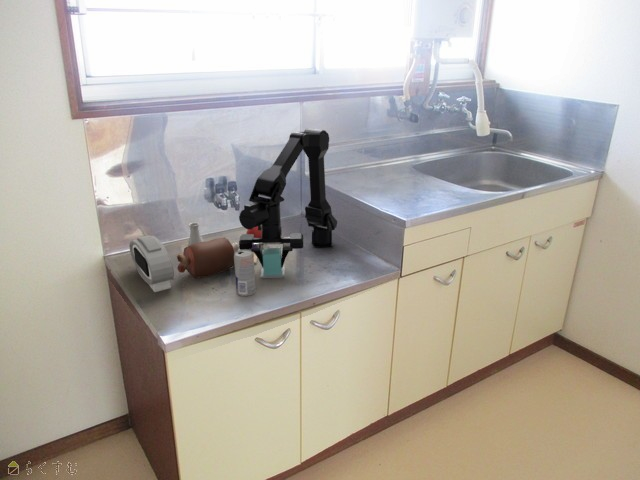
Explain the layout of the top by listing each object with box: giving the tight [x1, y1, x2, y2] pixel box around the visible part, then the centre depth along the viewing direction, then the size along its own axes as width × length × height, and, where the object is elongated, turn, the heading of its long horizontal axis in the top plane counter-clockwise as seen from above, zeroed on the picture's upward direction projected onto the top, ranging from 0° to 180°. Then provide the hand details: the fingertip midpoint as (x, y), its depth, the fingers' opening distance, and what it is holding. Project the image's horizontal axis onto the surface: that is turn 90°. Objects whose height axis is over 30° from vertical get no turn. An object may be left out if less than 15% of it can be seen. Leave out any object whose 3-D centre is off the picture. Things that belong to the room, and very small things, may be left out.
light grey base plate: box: [260, 265, 286, 279], centre depth 157 cm, size 7×7×6 cm
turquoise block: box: [262, 247, 282, 275], centre depth 157 cm, size 5×5×7 cm
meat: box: [176, 237, 240, 279], centre depth 157 cm, size 20×12×10 cm, turn 128°
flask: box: [187, 222, 205, 247], centre depth 171 cm, size 7×7×10 cm
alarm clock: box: [129, 235, 175, 293], centre depth 152 cm, size 23×6×13 cm, turn 33°
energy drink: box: [234, 249, 257, 297], centre depth 145 cm, size 5×5×12 cm
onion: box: [245, 226, 262, 238], centre depth 177 cm, size 6×6×8 cm
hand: (272, 267), depth 158 cm, fingers closed on turquoise block, 5 cm apart
